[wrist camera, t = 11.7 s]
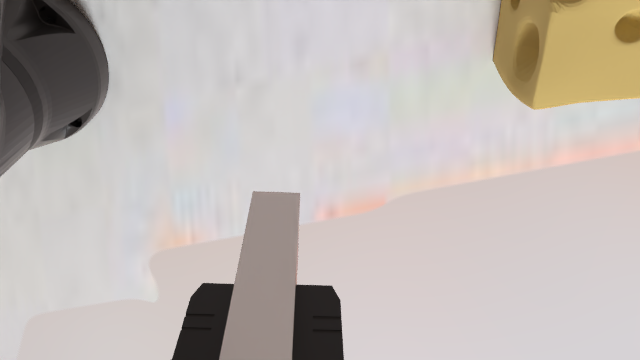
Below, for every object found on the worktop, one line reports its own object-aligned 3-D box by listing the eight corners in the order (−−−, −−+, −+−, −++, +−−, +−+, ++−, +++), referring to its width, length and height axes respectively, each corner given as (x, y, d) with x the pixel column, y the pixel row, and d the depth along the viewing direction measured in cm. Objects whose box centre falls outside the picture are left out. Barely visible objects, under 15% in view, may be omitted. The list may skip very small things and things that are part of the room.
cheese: (502, -57, 37) (557, -40, 29) (638, -67, 37) (734, -52, 29) (486, 68, 43) (527, 113, 35) (604, 60, 43) (675, 104, 34)
